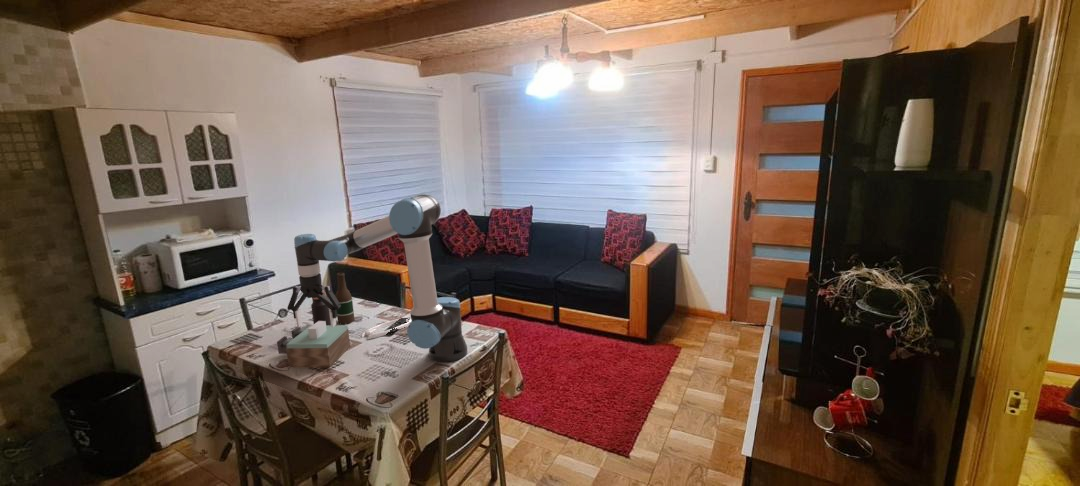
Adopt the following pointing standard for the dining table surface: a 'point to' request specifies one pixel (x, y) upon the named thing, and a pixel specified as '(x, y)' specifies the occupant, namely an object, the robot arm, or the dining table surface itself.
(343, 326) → the door
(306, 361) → the cabinet
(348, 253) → the robot arm
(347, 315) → the beer bottle
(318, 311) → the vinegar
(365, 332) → the door handle
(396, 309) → the dining table surface
